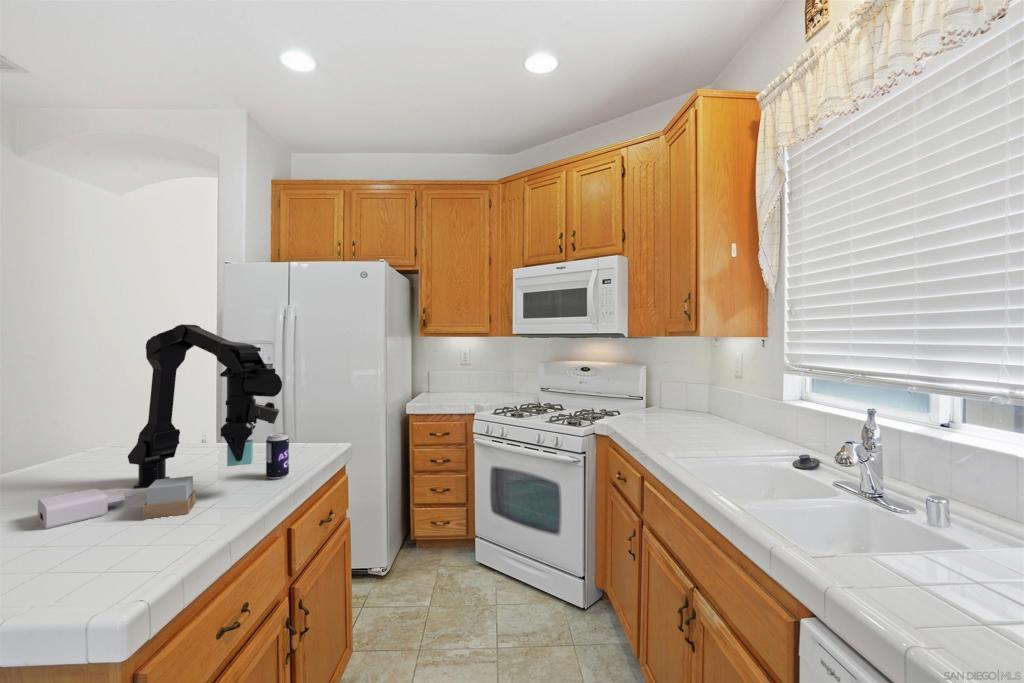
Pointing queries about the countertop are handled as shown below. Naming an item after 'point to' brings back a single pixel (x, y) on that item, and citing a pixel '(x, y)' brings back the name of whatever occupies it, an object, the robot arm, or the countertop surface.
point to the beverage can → (277, 456)
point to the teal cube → (246, 457)
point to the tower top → (169, 490)
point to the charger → (76, 506)
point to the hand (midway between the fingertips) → (240, 458)
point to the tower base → (169, 508)
